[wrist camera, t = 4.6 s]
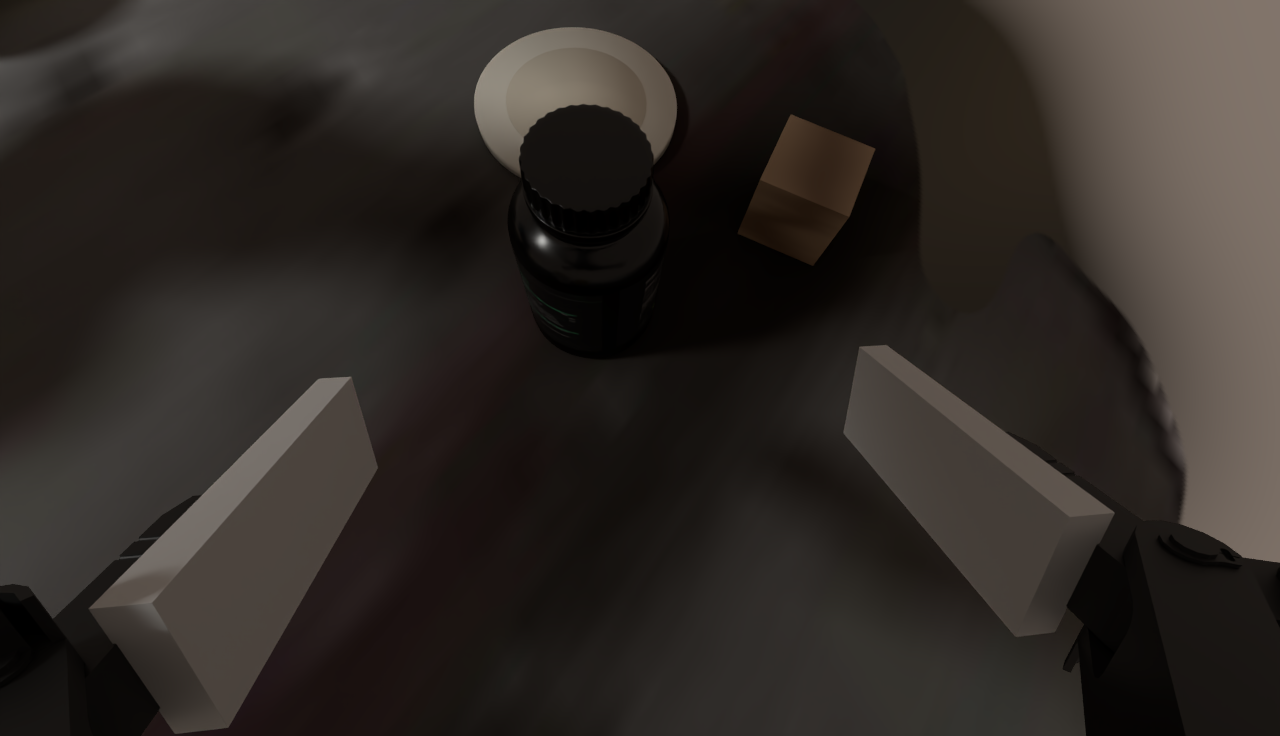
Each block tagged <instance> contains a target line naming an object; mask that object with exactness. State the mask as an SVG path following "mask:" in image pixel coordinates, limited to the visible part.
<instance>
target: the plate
mask: <svg viewBox="0 0 1280 736" xmlns="http://www.w3.org/2000/svg"><path fill="white" fill-rule="evenodd" d="M580 104H586V105H598V106H601V107H609V108H610V109H612V110H614V111H620V112H621V113H622V114H623V115H624V116H627V117H630V118H631V119H632V121H633V122H634V123H636V124H638V125H639V126H640V129H641V130H642V131H643V132H644V133H645V134H646V136H647V140H648V141H649V142H650V143H651V151H652V152H653V155H654V161H653V165H654V164H656V163H657V161H658V160H659V159H660V158H661V157H662V155H663V154H664V152H665V151H666V149H667V147H668V146H669V143H670V141H671V139H672V136H673V132H674V127H675V122H676V116H677V102H676V95H675V91H674V88H673V85H672V83H671V81H670V78H669V76H668V75H667V73H666V72H665V70H664V69H663V67H662V66H661V65H660V64H659V63H658V62H657V60H656V59H655V58H654V57H652V56H651V55H650V54H649V53H648V52H647V51H645V50H644V49H642V48H641V47H640V46H638V45H636V44H635V43H633V42H631V41H629V40H627V39H625V38H623V37H620V36H618V35H615V34H612V33H609V32H605V31H601V30H596V29H590V28H580V27H566V28H555V29H549V30H544V31H540V32H537V33H533V34H530V35H528V36H526V37H523V38H521V39H519V40H517V41H515V42H513V43H511V44H510V45H508V46H507V47H506V48H504V49H503V50H501V51H500V52H499V53H498V54H497V55H496V56H495V57H494V58H493V59H492V60H491V61H490V62H489V64H488V65H487V66H486V68H485V69H484V71H483V73H482V74H481V76H480V78H479V81H478V83H477V86H476V91H475V96H474V110H475V117H476V120H477V124H478V127H479V130H480V133H481V137H482V139H483V141H484V143H485V145H486V147H487V148H488V149H489V151H490V152H491V154H492V155H493V156H494V157H495V158H496V160H497V161H498V162H499V163H500V164H501V165H502V166H504V167H505V168H506V169H507V170H509V171H510V172H511V173H513V174H515V175H516V176H518V177H519V178H521V173H520V165H519V156H520V146H521V145H522V144H523V140H524V136H525V135H526V134H527V133H528V132H529V128H530V127H531V126H533V125H535V124H536V122H537V120H538V119H540V118H542V117H544V116H545V115H546V114H547V113H548V112H553V111H555V110H556V109H558V108H565V107H567V106H569V105H580ZM521 179H522V178H521Z"/></svg>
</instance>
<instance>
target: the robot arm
mask: <svg viewBox="0 0 1280 736" xmlns="http://www.w3.org/2000/svg"><path fill="white" fill-rule="evenodd" d="M844 434H845V436H846V437H847V438H848V439H849V440H850V442H851V443H852V444H853V445H854V446H855V447H856V449H857V450H858V451H859V452H860V453H861V455H862V456H863V457H864V458H865V459H866V460H867V462H868V463H869V464H870V465H871V466H872V468H873V469H874V470H875V471H876V472H877V474H878V475H879V476H880V477H881V478H882V479H883V481H884V482H885V483H886V484H887V485H888V487H889V488H890V489H891V490H892V491H893V492H894V494H895V495H896V496H897V497H898V498H899V500H900V501H901V502H902V503H903V504H904V506H905V507H906V508H907V509H908V510H909V511H910V513H911V514H912V515H913V516H914V517H915V519H916V520H917V521H918V522H919V523H920V524H921V526H922V527H923V528H924V529H925V530H926V532H927V533H928V534H929V535H930V536H931V538H932V539H933V540H934V541H935V542H936V543H937V545H938V546H939V547H940V548H941V549H942V551H943V552H944V553H945V554H946V555H947V556H948V558H949V559H950V560H951V561H952V562H953V564H954V565H955V566H956V567H957V568H958V570H959V571H960V572H961V573H962V574H963V575H964V577H965V578H966V579H967V580H968V581H969V583H970V584H971V585H972V586H973V587H974V588H975V590H976V591H977V592H978V593H979V594H980V596H981V597H982V598H983V599H984V600H985V602H986V603H987V604H988V605H989V606H990V607H991V609H992V610H993V611H994V612H995V613H996V615H997V616H998V617H999V618H1000V619H1001V620H1002V622H1003V623H1004V624H1005V625H1006V626H1007V628H1008V629H1009V630H1010V631H1011V632H1012V634H1013V635H1014V636H1015V637H1020V636H1029V635H1037V634H1046V633H1055V632H1056V630H1057V628H1058V626H1059V624H1060V622H1061V620H1062V618H1063V616H1064V614H1065V612H1066V610H1067V608H1069V609H1070V610H1071V611H1072V612H1073V613H1074V614H1075V615H1076V616H1077V617H1078V618H1079V619H1080V620H1081V621H1082V622H1083V623H1084V626H1083V627H1082V629H1081V631H1080V633H1079V635H1078V637H1077V639H1076V641H1075V643H1074V644H1073V646H1072V648H1071V650H1070V652H1069V654H1068V656H1067V658H1066V659H1065V662H1064V666H1063V670H1065V671H1068V672H1071V671H1072V669H1073V667H1074V665H1075V663H1078V662H1080V672H1081V683H1082V694H1083V705H1084V716H1085V727H1086V736H1280V563H1277V562H1269V561H1263V560H1256V559H1249V558H1242V557H1241V555H1239V554H1238V553H1236V552H1235V551H1233V550H1232V549H1231V548H1230V547H1228V546H1227V545H1225V544H1224V543H1222V542H1220V541H1218V540H1216V539H1215V538H1213V537H1211V536H1209V535H1207V534H1205V533H1203V532H1200V531H1197V530H1194V529H1192V528H1189V527H1186V526H1184V525H1180V524H1175V523H1171V522H1166V521H1144V522H1143V521H1142V520H1141V519H1139V518H1138V517H1136V516H1135V515H1134V514H1132V513H1131V512H1129V511H1128V510H1127V509H1125V508H1124V507H1122V506H1121V505H1120V504H1118V503H1117V502H1115V501H1114V500H1113V499H1111V498H1110V497H1108V496H1107V495H1106V494H1104V493H1103V492H1101V491H1100V490H1099V489H1097V488H1096V487H1094V486H1093V485H1091V484H1090V483H1089V482H1087V481H1086V480H1084V479H1083V478H1082V477H1080V476H1075V474H1074V472H1073V471H1072V470H1070V469H1069V468H1068V467H1066V466H1065V465H1063V464H1062V463H1057V460H1056V459H1055V458H1054V457H1052V456H1051V455H1049V454H1048V453H1047V452H1045V451H1044V450H1042V449H1041V448H1040V447H1038V446H1037V445H1035V444H1033V443H1031V442H1029V441H1027V440H1025V439H1022V438H1020V437H1018V436H1016V435H1014V434H1012V433H1009V432H1004V431H1003V430H1001V429H1000V428H999V427H997V426H996V425H995V424H993V423H992V422H990V421H989V420H988V419H986V418H985V417H984V416H982V415H981V414H980V413H978V412H977V411H975V410H974V409H973V408H971V407H970V406H969V405H967V404H966V403H965V402H963V401H962V400H960V399H959V398H958V397H956V396H955V395H954V394H952V393H951V392H950V391H948V390H947V389H945V388H944V387H943V386H941V385H940V384H939V383H937V382H936V381H935V380H933V379H932V378H930V377H929V376H928V375H926V374H925V373H924V372H922V371H921V370H920V369H918V368H917V367H915V366H914V365H913V364H911V363H910V362H909V361H907V360H906V359H905V358H903V357H902V356H900V355H899V354H898V353H896V352H895V351H894V350H892V349H891V348H890V347H888V346H887V345H882V346H865V347H859V352H858V358H857V363H856V368H855V374H854V379H853V384H852V390H851V395H850V400H849V406H848V411H847V417H846V422H845V427H844ZM377 468H378V467H377V463H376V460H375V456H374V453H373V449H372V446H371V443H370V439H369V436H368V432H367V429H366V425H365V422H364V419H363V415H362V412H361V408H360V405H359V401H358V398H357V395H356V391H355V388H354V384H353V381H352V377H340V378H323V379H318V380H317V381H316V382H315V383H314V384H313V385H312V386H311V387H310V388H309V389H308V390H307V391H306V392H305V393H304V394H303V395H302V396H301V397H300V398H299V399H298V400H297V401H296V402H295V403H294V404H293V405H292V406H291V407H290V408H289V409H288V410H287V411H286V412H285V413H284V414H283V415H282V416H281V417H280V418H279V419H278V420H277V421H276V422H275V423H274V424H273V425H272V426H271V427H270V428H269V429H268V430H267V431H266V432H265V433H264V434H263V435H262V436H261V437H260V438H259V439H258V440H257V441H256V442H255V443H254V444H253V445H252V446H251V447H250V448H249V449H248V450H247V451H246V452H245V453H244V454H243V455H242V456H241V457H240V458H239V459H238V460H237V461H236V462H235V463H234V464H233V465H232V466H231V467H230V468H229V469H228V470H227V471H226V472H225V473H224V474H223V475H222V476H221V477H220V478H219V479H218V480H217V481H216V482H215V483H214V484H213V485H212V486H211V487H210V488H209V489H208V490H207V491H206V492H205V493H204V494H203V495H199V496H192V497H191V498H189V499H187V500H186V501H184V502H183V503H181V504H179V505H178V506H176V507H175V508H173V509H171V510H170V511H168V512H167V513H165V514H163V515H162V516H161V517H160V518H159V519H158V520H157V521H156V522H155V523H153V524H152V525H151V526H150V527H149V528H148V529H147V530H146V531H145V532H144V533H143V534H142V535H141V536H140V537H139V541H137V542H134V543H132V544H131V545H130V546H129V547H128V548H127V549H126V550H125V551H124V552H123V553H122V554H121V555H120V559H119V560H115V561H114V562H112V563H111V564H110V565H109V566H108V567H107V568H106V569H105V570H104V571H103V572H102V573H101V574H100V575H99V576H98V577H97V578H96V579H95V580H94V581H92V582H91V583H90V584H89V585H88V586H87V587H86V588H85V589H84V590H83V591H82V592H81V593H80V594H79V595H78V596H77V597H76V598H75V599H74V600H73V601H71V602H70V603H69V604H68V605H67V606H66V607H65V608H64V609H63V610H62V611H61V612H60V613H59V614H58V615H57V616H56V617H55V618H54V619H52V617H51V616H50V615H49V613H48V612H47V611H46V609H45V608H44V607H43V605H42V604H41V603H40V601H39V600H38V599H37V597H36V596H35V595H34V593H33V592H32V591H31V589H30V588H29V587H27V586H21V585H15V584H11V585H5V586H0V736H141V735H142V733H143V732H144V730H145V729H146V728H147V726H148V725H149V723H150V722H151V720H152V719H153V718H154V716H155V715H156V713H157V712H158V711H160V713H161V714H162V716H163V717H164V719H165V720H166V721H167V723H168V724H169V726H170V727H171V729H172V730H173V732H174V733H175V734H177V733H186V732H195V731H204V730H212V729H221V728H228V727H229V725H230V724H231V722H232V720H233V719H234V717H235V715H236V713H237V712H238V710H239V708H240V706H241V705H242V703H243V701H244V699H245V698H246V696H247V694H248V692H249V691H250V689H251V687H252V686H253V684H254V682H255V680H256V679H257V677H258V675H259V673H260V672H261V670H262V668H263V666H264V665H265V663H266V661H267V659H268V658H269V656H270V654H271V653H272V651H273V649H274V647H275V646H276V644H277V642H278V640H279V639H280V637H281V635H282V633H283V632H284V630H285V628H286V626H287V625H288V623H289V621H290V620H291V618H292V616H293V614H294V613H295V611H296V609H297V607H298V606H299V604H300V602H301V600H302V599H303V597H304V595H305V593H306V592H307V590H308V588H309V587H310V585H311V583H312V581H313V580H314V578H315V576H316V574H317V573H318V571H319V569H320V567H321V566H322V564H323V562H324V560H325V559H326V557H327V555H328V554H329V552H330V550H331V548H332V547H333V545H334V543H335V541H336V540H337V538H338V536H339V534H340V533H341V531H342V529H343V527H344V526H345V524H346V522H347V521H348V519H349V517H350V515H351V514H352V512H353V510H354V508H355V507H356V505H357V503H358V501H359V500H360V498H361V496H362V494H363V493H364V491H365V489H366V488H367V486H368V484H369V482H370V481H371V479H372V477H373V475H374V474H375V472H376V470H377Z"/></svg>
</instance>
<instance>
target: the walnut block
mask: <svg viewBox="0 0 1280 736" xmlns="http://www.w3.org/2000/svg"><path fill="white" fill-rule="evenodd" d="M874 151H875V148H872V147H870V146H867V145H865V144H862V143H860V142H858V141H855V140H853V139H850V138H848V137H845V136H843V135H840V134H838V133H835V132H833V131H830V130H828V129H825V128H823V127H820V126H818V125H816V124H813V123H811V122H808V121H806V120H803V119H801V118H798V117H796V116H793V115H790V117H789V119H788V121H787V124H786V126H785V128H784V130H783V132H782V134H781V136H780V138H779V141H778V143H777V145H776V147H775V149H774V151H773V153H772V155H771V158H770V160H769V162H768V164H767V166H766V168H765V170H764V173H763V175H762V177H761V179H760V181H759V183H758V186H757V188H756V191H755V193H754V195H753V198H752V200H751V202H750V205H749V207H748V209H747V212H746V214H745V216H744V219H743V221H742V223H741V226H740V228H739V230H738V233H737V234H739V235H742V236H744V237H746V238H749V239H751V240H753V241H756V242H758V243H760V244H763V245H765V246H767V247H770V248H772V249H774V250H777V251H779V252H781V253H784V254H786V255H788V256H791V257H793V258H795V259H798V260H800V261H802V262H805V263H807V264H809V265H812V266H813V265H814V264H815V262H816V261H817V260H818V258H819V257H820V256H821V254H822V253H823V252H824V250H825V249H826V248H827V246H828V245H829V244H830V242H831V241H832V240H833V238H834V237H835V236H836V234H837V233H838V232H839V230H840V229H841V227H842V226H843V225H844V223H845V222H846V221H847V219H848V218H849V216H850V214H851V211H852V208H853V206H854V203H855V201H856V198H857V195H858V193H859V190H860V187H861V185H862V182H863V180H864V177H865V174H866V172H867V169H868V166H869V164H870V161H871V159H872V156H873V153H874Z"/></svg>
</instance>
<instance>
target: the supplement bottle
mask: <svg viewBox="0 0 1280 736" xmlns="http://www.w3.org/2000/svg"><path fill="white" fill-rule="evenodd" d="M653 161H654V155H653V152H652V151H651V143H650V142H649V141H648V140H647V136H646V134H645V133H644V132H643V131H642V130H641V129H640V126H639V125H638V124H636V123H634V122H633V121H632V119H631V118H630V117H627V116H624V115H623V114H622V113H621V112H620V111H614V110H612V109H610V108H609V107H601V106H598V105H586V104H580V105H569V106H567V107H565V108H558V109H556V110H555V111H553V112H548V113H547V114H546V115H545V116H544V117H542V118H540V119H538V120H537V122H536V124H535V125H533V126H531V127H530V128H529V132H528V133H527V134H526V135H525V136H524V140H523V144H522V145H521V146H520V156H519V165H520V173H521V178H522V180H521V181H520V183H519V184H518V186H517V188H516V190H515V192H514V194H513V196H512V199H511V202H510V205H509V211H508V230H509V236H510V241H511V244H512V248H513V251H514V254H515V257H516V261H517V264H518V267H519V271H520V274H521V277H522V281H523V284H524V287H525V290H526V294H527V297H528V300H529V304H530V307H531V310H532V313H533V316H534V319H535V321H536V323H537V325H538V327H539V329H540V331H541V332H542V333H543V335H544V336H545V337H546V338H547V339H548V340H549V341H550V342H551V343H552V344H553V345H555V346H556V347H558V348H559V349H561V350H563V351H565V352H567V353H569V354H572V355H575V356H579V357H585V358H600V357H606V356H610V355H614V354H616V353H619V352H621V351H623V350H625V349H626V348H628V347H629V346H631V345H632V344H633V343H635V342H636V341H637V340H638V339H639V338H640V337H641V335H642V334H643V333H644V331H645V330H646V328H647V326H648V324H649V322H650V319H651V316H652V312H653V308H654V304H655V300H656V295H657V290H658V285H659V281H660V276H661V271H662V266H663V262H664V257H665V252H666V247H667V242H668V236H669V226H670V220H669V212H668V207H667V203H666V200H665V198H664V196H663V193H662V191H661V190H660V188H659V186H658V185H657V183H656V182H655V180H654V179H653V172H654V165H653Z"/></svg>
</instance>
